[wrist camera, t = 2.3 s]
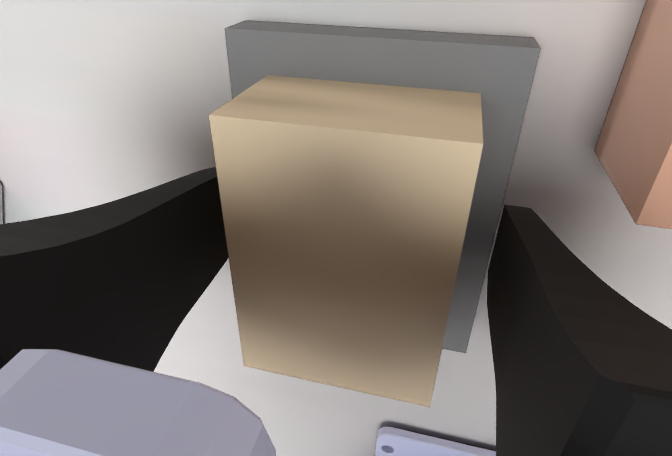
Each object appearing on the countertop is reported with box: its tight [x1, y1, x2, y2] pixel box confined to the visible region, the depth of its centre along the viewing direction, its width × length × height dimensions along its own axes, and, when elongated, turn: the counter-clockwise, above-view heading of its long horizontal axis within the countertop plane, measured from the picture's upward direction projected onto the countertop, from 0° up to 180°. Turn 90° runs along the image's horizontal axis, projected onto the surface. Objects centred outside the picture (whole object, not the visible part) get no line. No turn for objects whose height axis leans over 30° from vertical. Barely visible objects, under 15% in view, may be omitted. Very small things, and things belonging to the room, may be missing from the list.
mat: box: [225, 21, 541, 353], centre depth 13 cm, size 9×7×1 cm
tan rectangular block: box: [209, 75, 483, 407], centre depth 11 cm, size 7×5×3 cm
